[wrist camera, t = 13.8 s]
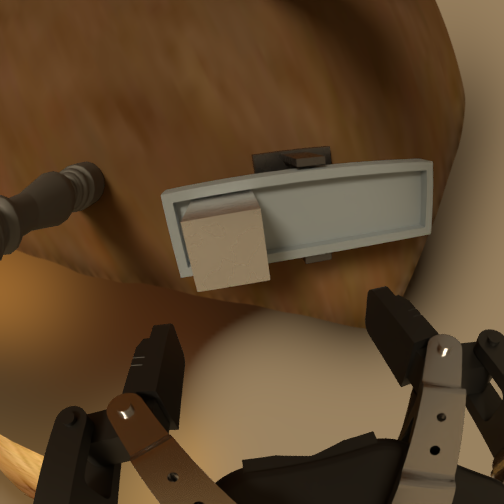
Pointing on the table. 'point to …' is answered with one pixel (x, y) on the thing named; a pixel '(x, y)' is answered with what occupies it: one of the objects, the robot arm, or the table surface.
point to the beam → (322, 206)
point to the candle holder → (48, 202)
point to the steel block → (225, 240)
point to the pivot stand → (292, 161)
